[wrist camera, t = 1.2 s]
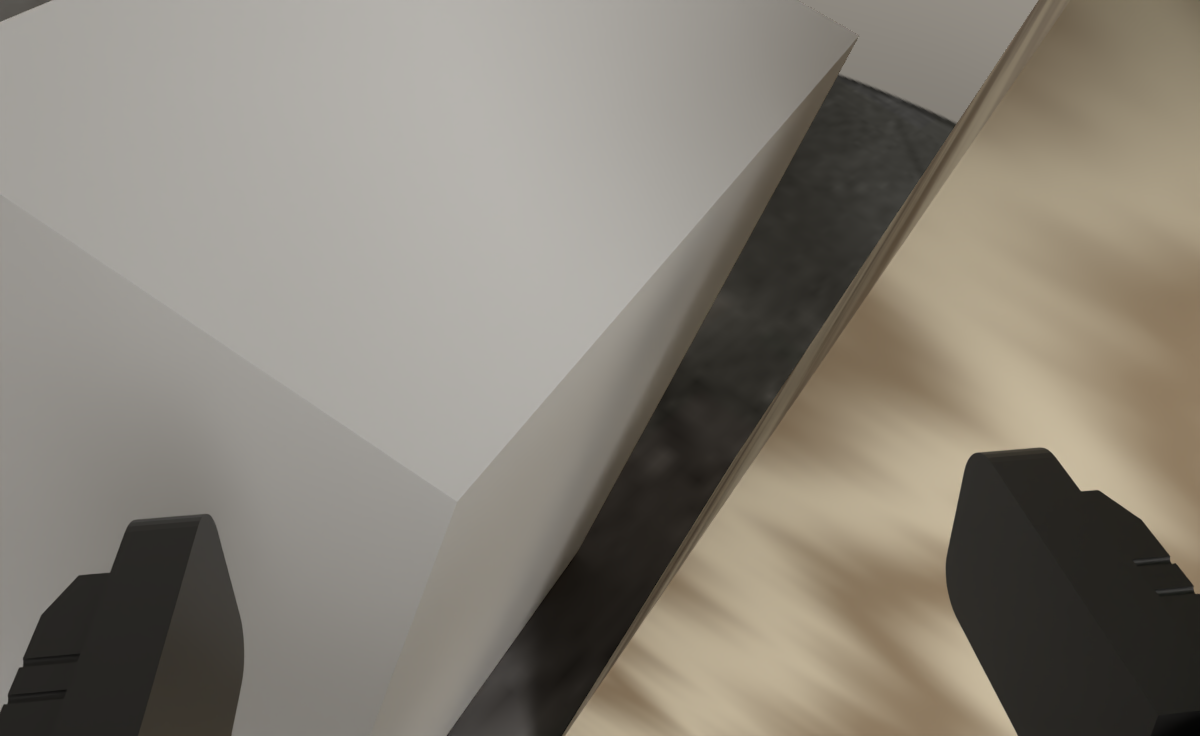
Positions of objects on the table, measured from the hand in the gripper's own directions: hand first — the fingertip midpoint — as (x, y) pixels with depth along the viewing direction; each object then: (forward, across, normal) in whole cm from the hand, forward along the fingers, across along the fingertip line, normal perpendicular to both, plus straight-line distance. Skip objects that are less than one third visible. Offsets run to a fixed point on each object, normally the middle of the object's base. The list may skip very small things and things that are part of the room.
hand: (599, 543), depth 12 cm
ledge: (+17, +7, +18) cm, 26 cm away
